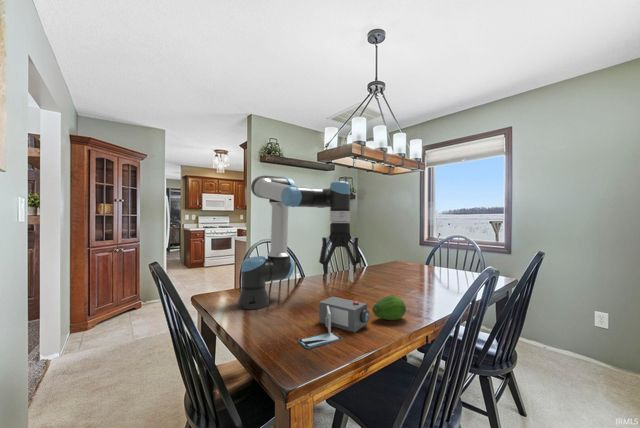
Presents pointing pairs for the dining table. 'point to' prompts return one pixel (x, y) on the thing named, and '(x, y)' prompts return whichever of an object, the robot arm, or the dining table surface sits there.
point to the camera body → (344, 313)
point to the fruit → (389, 308)
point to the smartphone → (319, 340)
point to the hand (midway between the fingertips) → (339, 281)
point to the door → (328, 319)
